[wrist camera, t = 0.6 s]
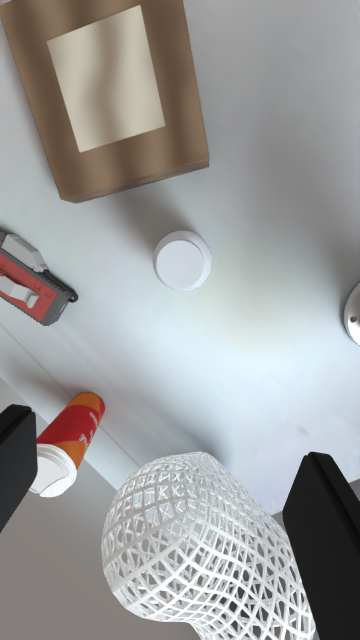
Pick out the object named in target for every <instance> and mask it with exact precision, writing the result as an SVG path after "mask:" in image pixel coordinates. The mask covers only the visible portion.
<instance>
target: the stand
mask: <svg viewBox="0 0 360 640" xmlns="http://www.w3.org/2000/svg"><path fill="white" fill-rule="evenodd" d="M0 18H1V21H2V24H3V27H4V30H5V33H6V36H7V39H8V42H9V45H10V48H11V51H12V54H13V57H14V60H15V63H16V66H17V69H18V72H19V75H20V78H21V81H22V84H23V87H24V90H25V93H26V96H27V99H28V102H29V105H30V108H31V111H32V114H33V117H34V120H35V123H36V126H37V129H38V132H39V135H40V138H41V141H42V144H43V147H44V150H45V153H46V156H47V159H48V162H49V165H50V168H51V171H52V174H53V177H54V180H55V183H56V186H57V189H58V192H59V195H60V198H61V200H65V201H69V202H72V203H76V204H77V203H81V202H84V201H88V200H91V199H95V198H98V197H102V196H106V195H109V194H113V193H116V192H120V191H124V190H127V189H131V188H134V187H138V186H141V185H145V184H149V183H152V182H156V181H159V180H163V179H167V178H170V177H174V176H177V175H181V174H184V173H188V172H192V171H195V170H199V169H202V168H206V167H209V152H208V146H207V140H206V134H205V128H204V122H203V117H202V111H201V105H200V99H199V93H198V87H197V81H196V75H195V70H194V64H193V58H192V52H191V46H190V40H189V34H188V28H187V23H186V17H185V11H184V5H183V0H12V1H10V2H7V3H5V4H3V5H0Z"/></svg>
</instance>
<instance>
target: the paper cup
mask: <svg viewBox="0 0 360 640" xmlns="http://www.w3.org/2000/svg"><path fill="white" fill-rule="evenodd" d="M104 410H105V405H104V402H103V401H102V399H101V398H100V397H99V396H98V395H96V394H94V393H90V392H83V393H80V394H79V395H77V396H76V397H75V398H74V399H73V400H72V401H71V402H70V403H69V404H68V406H67V407H66V408H65V409H64V410H63V411H62V412H61V413H60V414H59V415H58V416H57V417H56V418H55V419H54V421H53V422H52V423H51V424H50V425H49V426H48V427H47V428H46V429H45V430H44V431H43V432H42V434H41V435H40V436H39V437H38V438H37V461H38V472H37V476H36V478H35V480H34V482H33V484H32V485H31V487H30V488H29V490H30V491H32V492H34V493H36V492H37V491H38V492H37V493H41V494H40V496H43V497H54V496H58V495H60V494H62V493H63V492H64V491H65V490H66V489H67V488H68V487H70V486H71V485H72V484H73V483H74V481H75V479H76V476H77V470H78V467H79V465H80V463H81V461H82V459H83V457H84V455H85V453H86V450H87V448H88V446H89V444H90V442H91V440H92V438H93V435H94V433H95V431H96V429H97V427H98V425H99V423H100V420H101V418H102V416H103V413H104Z"/></svg>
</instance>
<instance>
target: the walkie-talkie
mask: <svg viewBox="0 0 360 640" xmlns="http://www.w3.org/2000/svg"><path fill="white" fill-rule="evenodd" d="M0 240H1V241H2V242H3V244H2V245H1V246H0V297H1V298H3V299H4V300H6V301H7V302H9V303H11V304H12V305H14V306H15V307H17V308H18V309H20V310H21V311H23V312H24V313H26V314H27V315H29V316H30V317H31V318H33V319H34V320H36V321H37V322H39V323H40V324H42V325H43V326H49V325H51V324H53V323H54V322H56V321H58V319H59V317H60V316H61V314H62V312H63V311H64V309H65V307H66V306H67V304H68V302H71V303H73V302H76V301H77V300H78V295H77V294H76V293H75V292H74V291H73V290H72V289H70V288H69V287H67V286H66V285H65V284H63V283H62V282H60V281H59V280H57V279H56V278H55V277H53V276H52V275H51V274H50V272H49V271H48V270H47V269H48V267H46V265H45V263H44V260H43V258H42V256H41V254H40V252H39V251H37V250H36V249H35V248H33V247H32V246H30V245H29V244H28V243H26V242H25V241H23V240H22V239H21V237H20V236H18V235H17V234H7V233H6V232H4V231H1V230H0ZM72 296H74V300H73V299H71V297H72Z"/></svg>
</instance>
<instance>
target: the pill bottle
mask: <svg viewBox="0 0 360 640" xmlns="http://www.w3.org/2000/svg"><path fill="white" fill-rule="evenodd" d="M153 267H154V271H155V273H156V275H157V277H158V279H159V280H160V281H161V282H162V283H163V284H164V285H165V286H167V287H168V288H170V289H173V290H176V291H190V290H193V289H195V288H197V287H199V286H200V285H201V284H203V283H204V282H205V280H206V279H207V278H208V276H209V274H210V271H211V268H212V254H211V250H210V248H209V246H208V244H207V243H206V241H205V240H204V239H203V238H202V237H200V236H199V235H197V234H195V233H193V232H190V231H175V232H172V233H170V234H168V235H166V236H165V237H164V238H162V239H161V240H160V242H159V243H158V245H157V246H156V248H155V251H154V255H153Z"/></svg>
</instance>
